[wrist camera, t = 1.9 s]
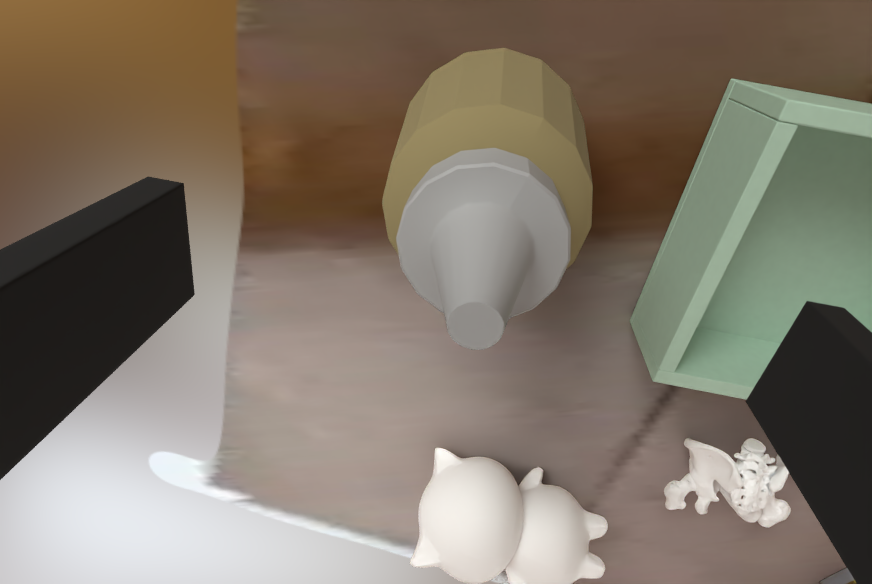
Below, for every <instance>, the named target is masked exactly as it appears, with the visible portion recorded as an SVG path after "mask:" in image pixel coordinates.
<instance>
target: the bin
mask: <svg viewBox="0 0 872 584" xmlns="http://www.w3.org/2000/svg"><path fill="white" fill-rule="evenodd" d="M806 301H811V302H816V303H821V304H827V305H832V306H837V307H843V308H845V309H846V310H847V311H848V312H849V313H851V314H852V315H853V316H854V317H855V318H856V319H857V320H858V321H860V322H861V323H862V324H863V325H864V326H865V327H866V328H867V329H868V330H870V331H871V332H872V104H870V103H865V102H859V101H854V100H848V99H843V98H837V97H831V96H826V95H820V94H815V93H809V92H804V91H798V90H793V89H787V88H781V87H776V86H770V85H765V84H759V83H754V82H748V81H743V80H737V79H731V80H730V82H729V84H728V86H727V89H726V91H725V94H724V96H723V98H722V101H721V103H720V106H719V108H718V110H717V113H716V115H715V117H714V120H713V122H712V125H711V127H710V129H709V132H708V134H707V137H706V139H705V141H704V144H703V146H702V149H701V151H700V153H699V156H698V158H697V161H696V163H695V165H694V168H693V170H692V173H691V175H690V177H689V180H688V182H687V185H686V187H685V189H684V192H683V194H682V196H681V199H680V201H679V204H678V206H677V208H676V211H675V213H674V216H673V218H672V220H671V223H670V225H669V228H668V230H667V232H666V235H665V237H664V240H663V242H662V244H661V247H660V249H659V252H658V254H657V256H656V259H655V261H654V264H653V266H652V268H651V271H650V273H649V275H648V278H647V280H646V283H645V285H644V287H643V290H642V292H641V295H640V297H639V299H638V302H637V304H636V307H635V309H634V311H633V314H632V316H631V319H630V323H631V326H632V329H633V332H634V334H635V337H636V339H637V342H638V344H639V347H640V350H641V352H642V355H643V357H644V360H645V363H646V365H647V368H648V370H649V373H650V376H651V378H652V381H653V382H658V383H663V384H668V385H674V386H679V387H684V388H689V389H694V390H699V391H705V392H710V393H715V394H720V395H725V396H730V397H736V398H741V399H746V400H747V398H748V397H749V395H750V393H751V392H752V390H753V388H754V387H755V385H756V383H757V382H758V380H759V379H760V377H761V375H762V374H763V372H764V370H765V369H766V367H767V365H768V364H769V362H770V361H771V359H772V357H773V356H774V354H775V352H776V351H777V349H778V347H779V346H780V344H781V342H782V341H783V339H784V338H785V336H786V334H787V333H788V331H789V329H790V328H791V326H792V324H793V323H794V321H795V319H796V318H797V316H798V315H799V313H800V311H801V310H802V308H803V306H804V305H805V303H806Z"/></svg>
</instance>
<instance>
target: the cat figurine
mask: <svg viewBox="0 0 872 584" xmlns="http://www.w3.org/2000/svg"><path fill="white" fill-rule="evenodd" d="M542 478H543V470H542V469H541V468H540V467H538V468H534V469H532V470H531V471H530V472H529V473H528V474H527V475H526V476H525V477H524V479H523V480H522V482H521V483H520V484H519V486H518V485H517V482H516V480H515V479H514V477H513V475H512V474H511V473H510V471H509V470H508V469H507V468H506V467H505V466H503V465H502V464H501V463H499V462H497V461H495V460H493V459H490V458H486V457H470V458H459V457H458V456H456V455H454V454H453V453H451V452H450V451H448V450H446V449H443V448H436V449H435V458H434V471H433V476H432V478H431V480H430V482H429V483H428V485H427V487H426V488H425V490H424V492H423V495H422V497H421V501H420V505H419V515H418V518H419V528H420V536H419V540H418V543H417V546H416V549H415V551H414V553H413V556H412V558H411V561H410V564H411V565H412V566H414V567H418V568H426V567H435V566H437V567H440V568H441V569H443V570H444V571H445V572H446V573H447V574H449V575H450V576H452V577H453V578H455V579H457V580H459V581H461V582H464V583H470V584H479V583H484V582H486V581H489V580H491V579H493V578H495V577H496V576H497V575H499V574H500V573H501V572H502V571H503V570H504V569H505V570H506V573H507V577H508V581H509V584H572V583H573V582H574V581H576V580H577V579H579V578H592V579H596V578H601V577H602V575H603V573H604V571H605V565H604V563H603V561H602V560H601V559H600V558H599V557H598V556H596V555H593V554H592V553H590V552H589V541H590V540H592V539H596V538H599V537H601V536H603V535H604V534H605V533H606V531H607V529H608V525H607V521H606V519H605V518H604V517H602V516H600V515H597V514H593V513H590V512H587V511H585V510H584V509H583V508H582V507H581V505H580V504H579V503H578V501H577V500H576V499H575V498H574V496H573V495H572V494H570V493H569V492H568V491H567V490H565V489H563V488H561V487H559V486H554V485H543V484H542Z"/></svg>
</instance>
